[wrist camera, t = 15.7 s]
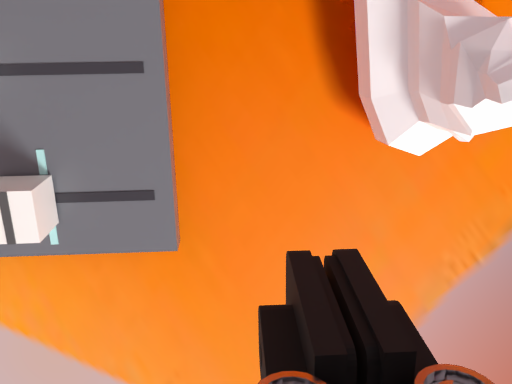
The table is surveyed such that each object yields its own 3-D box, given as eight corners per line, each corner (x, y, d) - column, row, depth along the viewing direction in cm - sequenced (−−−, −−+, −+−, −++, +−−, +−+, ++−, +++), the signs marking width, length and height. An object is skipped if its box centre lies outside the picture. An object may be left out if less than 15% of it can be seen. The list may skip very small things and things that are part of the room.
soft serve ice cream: (479, -50, 38) (674, -75, 25) (461, 134, 43) (612, 189, 31) (334, -40, 34) (476, -62, 22) (336, 157, 40) (448, 229, 28)
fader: (-1, 176, 37) (-28, 193, 33) (51, 175, 38) (30, 191, 34) (8, 224, 39) (-17, 245, 35) (58, 222, 39) (39, 243, 35)
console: (-84, -1, 35) (-103, -3, 33) (162, -4, 36) (158, -6, 34) (-29, 248, 42) (-43, 258, 40) (179, 241, 42) (177, 251, 40)
